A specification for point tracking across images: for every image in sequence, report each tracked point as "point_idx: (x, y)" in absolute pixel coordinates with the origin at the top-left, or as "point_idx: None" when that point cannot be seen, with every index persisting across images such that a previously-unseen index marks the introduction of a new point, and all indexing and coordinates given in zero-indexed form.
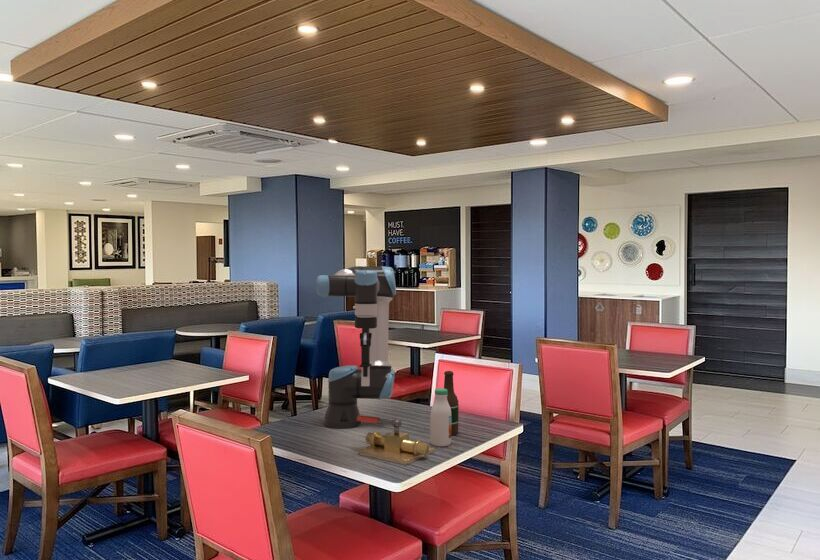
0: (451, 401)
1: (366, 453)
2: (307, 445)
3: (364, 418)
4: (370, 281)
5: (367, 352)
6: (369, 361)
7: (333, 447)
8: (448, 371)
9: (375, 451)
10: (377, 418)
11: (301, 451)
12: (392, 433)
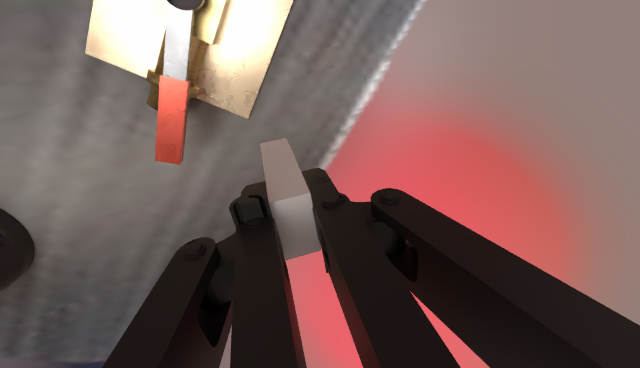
0: None
1: (258, 91)
2: (216, 240)
3: (183, 135)
4: None
5: (552, 292)
6: (206, 246)
7: (211, 187)
8: None
9: (241, 68)
10: (176, 83)
11: None
12: None
